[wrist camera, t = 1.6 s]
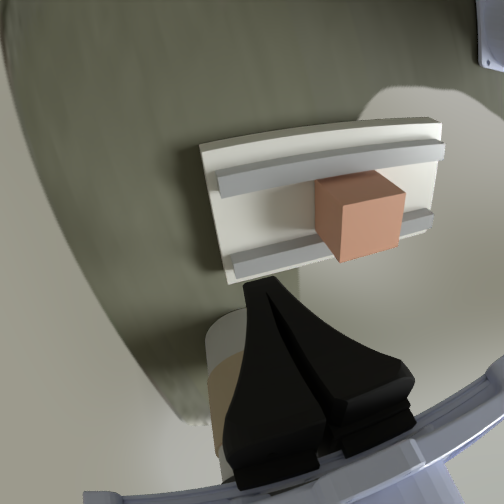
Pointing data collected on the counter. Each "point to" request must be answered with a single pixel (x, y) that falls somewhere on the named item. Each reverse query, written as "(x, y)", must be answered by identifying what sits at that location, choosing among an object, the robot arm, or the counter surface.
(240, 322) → the coffee cup
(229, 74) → the counter surface
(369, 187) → the switch
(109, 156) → the counter surface
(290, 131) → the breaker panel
